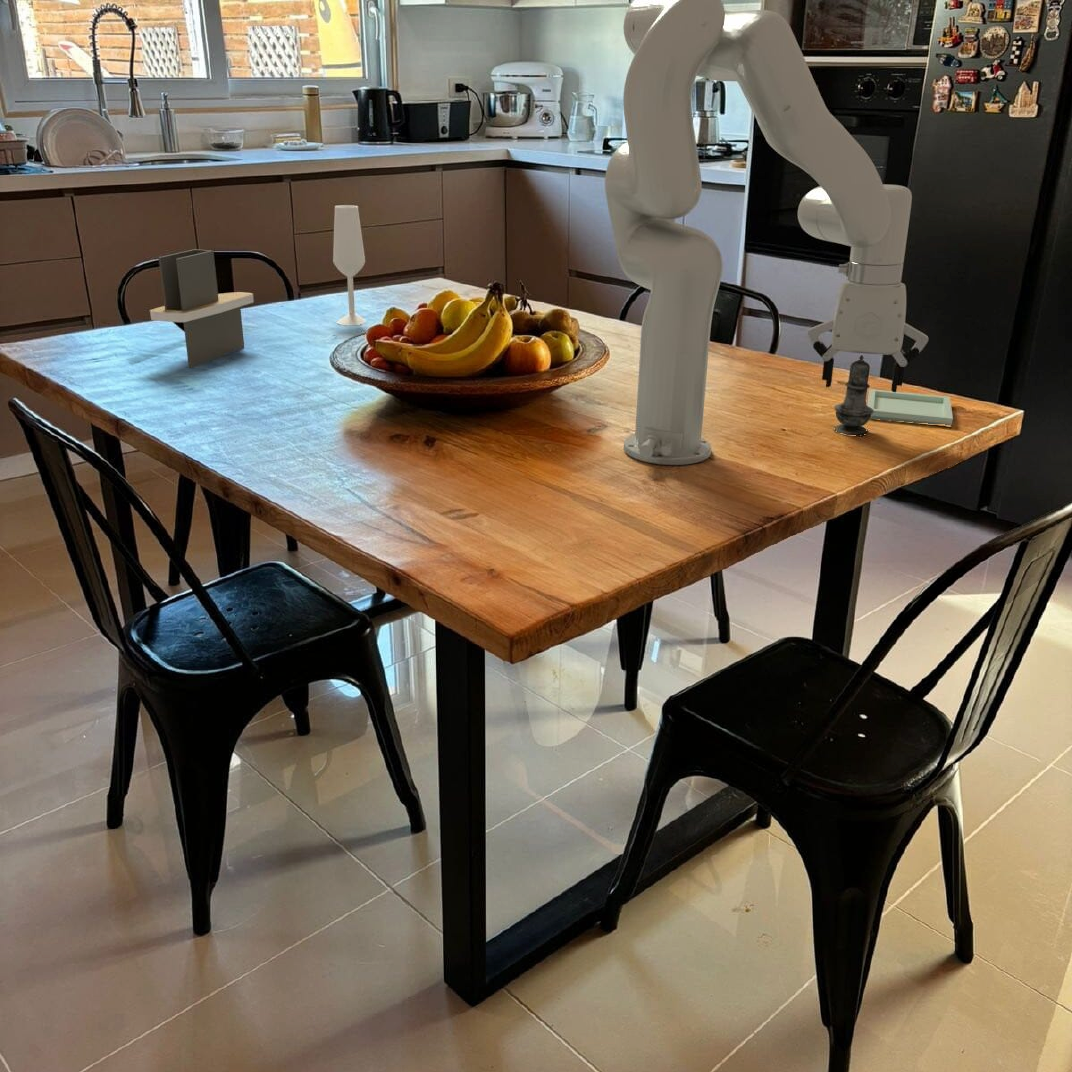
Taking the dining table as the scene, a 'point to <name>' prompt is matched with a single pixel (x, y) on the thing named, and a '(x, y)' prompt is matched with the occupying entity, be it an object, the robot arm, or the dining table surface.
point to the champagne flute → (348, 253)
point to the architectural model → (200, 306)
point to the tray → (910, 407)
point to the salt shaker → (855, 401)
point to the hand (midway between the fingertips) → (860, 387)
